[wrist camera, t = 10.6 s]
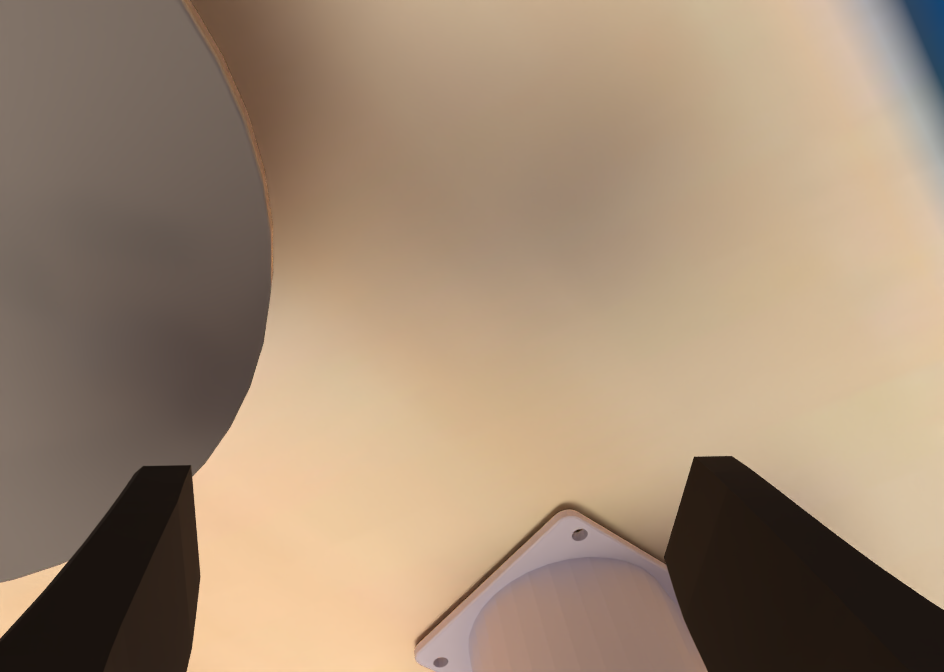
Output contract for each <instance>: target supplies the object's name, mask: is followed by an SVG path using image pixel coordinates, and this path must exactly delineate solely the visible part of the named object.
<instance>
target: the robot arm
mask: <svg viewBox="0 0 944 672" xmlns="http://www.w3.org/2000/svg"><path fill="white" fill-rule="evenodd" d="M578 529H582V530H581V531H579V532H575V533H574V531H576V530H578ZM664 559H665V562H666V564H664V563H663V562H661V561H659V560H658V559H656V558H654V557H653V556H651V555H649V554H648V553H646V552H644V551H643V550H641V549H639V548H638V547H636V546H634V545H633V544H631V543H629V542H628V541H626V540H624V539H622V538H621V537H619V536H617V535H616V534H614V533H612V532H611V531H609V530H607V529H606V528H604V527H602V526H601V525H599V524H597V523H596V522H594V521H592V520H591V519H589V518H587V517H586V516H584V515H582V514H581V513H579V512H577V511H575V510H572V509H570V510H563V511H560V512H559V513H557V514H556V515H555V516H553V517H552V518H551V519H550V520H549V521H548V522H547V523H546V524H545V525H544V526H543V527H542V528H541V529H540V530H539V531H537V532H536V533H535V534H534V535H533V536H532V537H531V538H530V539H529V540H528V541H527V542H526V543H525V544H524V545H523V546H522V547H520V548H519V549H518V550H517V551H516V552H515V553H514V554H513V555H512V556H511V557H510V558H509V559H508V560H507V561H506V562H504V563H503V564H502V565H501V566H500V567H499V568H498V569H497V570H496V571H495V572H494V573H493V574H492V575H491V576H490V577H489V578H487V579H486V580H485V581H484V582H483V583H482V584H481V585H480V586H479V587H478V588H477V589H476V590H475V591H474V592H473V593H471V594H470V595H469V596H468V597H467V598H466V599H465V600H464V601H463V602H462V603H461V604H460V605H459V606H458V607H457V608H456V609H454V610H453V611H452V612H451V613H450V614H449V615H448V616H447V617H446V618H445V619H444V620H443V621H442V622H441V623H440V624H438V625H437V626H436V627H435V628H434V629H433V630H432V631H431V632H430V633H429V634H428V635H427V636H426V637H425V638H424V639H423V640H421V641H420V642H419V643H418V644H417V646H416V647H415V650H414V653H415V660H416V662H417V663H418V664H420V665H422V666H424V667H427V668H429V669H431V670H434V671H436V672H944V610H943V609H941V608H939V607H938V606H936V605H935V604H933V603H932V602H930V601H929V600H927V599H926V598H924V597H923V596H921V595H920V594H918V593H917V592H916V591H914V590H913V589H911V588H910V587H908V586H907V585H905V584H904V583H902V582H901V581H899V580H898V579H897V578H895V577H894V576H892V575H891V574H889V573H888V572H886V571H885V570H884V569H882V568H881V567H879V566H878V565H877V564H875V563H874V562H872V561H871V560H870V559H868V558H867V557H866V556H864V555H863V554H861V553H860V552H859V551H857V550H856V549H855V548H853V547H852V546H851V545H849V544H848V543H847V542H845V541H844V540H843V539H841V538H840V537H839V536H837V535H836V534H835V533H833V532H832V531H831V530H829V529H828V528H827V527H825V526H824V525H823V524H821V523H820V522H819V521H818V520H816V519H815V518H814V517H812V516H811V515H810V514H808V513H807V512H806V511H805V510H803V509H802V508H801V507H799V506H798V505H797V504H796V503H794V502H793V501H792V500H790V499H789V498H788V497H787V496H785V495H784V494H783V493H781V492H780V491H779V490H777V489H776V488H775V487H774V486H772V485H771V484H770V483H768V482H767V481H766V480H764V479H763V478H762V477H760V476H759V475H758V474H756V473H755V472H754V471H752V470H751V469H750V468H748V467H747V466H745V465H744V464H743V463H741V462H740V461H738V460H737V459H735V458H734V457H732V456H712V457H694V459H693V462H692V465H691V469H690V472H689V475H688V479H687V482H686V486H685V489H684V492H683V496H682V499H681V502H680V506H679V509H678V512H677V516H676V519H675V522H674V526H673V529H672V532H671V536H670V539H669V542H668V546H667V549H666V552H665V556H664ZM199 584H200V566H199V554H198V542H197V530H196V518H195V506H194V494H193V482H192V469H191V465H168V466H142V467H141V468H140V469H139V470H138V471H137V472H135V473H134V475H133V476H132V478H131V479H130V481H129V482H128V484H127V485H126V487H125V488H124V489H123V491H122V492H121V494H120V495H119V496H118V498H117V499H116V501H115V502H114V503H113V505H112V506H111V507H110V509H109V510H108V512H107V513H106V514H105V516H104V517H103V518H102V520H101V521H100V522H99V523H98V525H97V526H96V527H95V529H94V530H93V531H92V533H91V534H90V535H89V536H88V538H87V539H86V540H85V542H84V543H83V544H82V545H81V546H80V548H79V549H78V550H77V551H76V553H75V554H74V555H73V556H72V557H71V559H70V560H69V561H68V562H67V564H66V565H65V566H64V567H63V568H62V570H61V571H60V572H59V573H58V575H57V576H56V577H55V578H54V579H53V581H52V582H51V583H50V584H49V585H48V586H47V588H46V589H45V590H44V591H43V592H42V593H41V595H40V596H39V597H38V598H37V599H36V600H35V601H34V602H33V603H32V604H31V606H30V607H29V608H28V609H27V610H26V611H25V612H24V613H23V614H22V615H21V617H20V618H19V619H18V620H17V621H16V622H15V623H14V624H13V625H12V626H11V627H10V629H9V630H8V631H7V632H6V633H5V634H4V635H3V636H2V637H1V638H0V672H186V671H187V667H188V663H189V658H190V654H191V649H192V643H193V635H194V627H195V619H196V610H197V602H198V593H199ZM440 657H441V658H440Z"/></svg>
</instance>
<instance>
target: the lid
mask: <svg viewBox="0 0 944 672" xmlns="http://www.w3.org/2000/svg"><path fill="white" fill-rule="evenodd" d="M272 277H273V222H272V215H271V208H270V202H269V195H268V189H267V182H266V175H265V169H264V166H263V162H262V159H261V155H260V152H259V149H258V145H257V142H256V138H255V135H254V132H253V128H252V125H251V121H250V118H249V114H248V112H247V110H246V107H245V105H244V103H243V100H242V98H241V96H240V94H239V91H238V89H237V87H236V84H235V82H234V80H233V78H232V75H231V73H230V71H229V68H228V66H227V64H226V61H225V59H224V57H223V55H222V53H221V51H220V50H219V48H218V46H217V44H216V43H215V41H214V39H213V38H212V36H211V34H210V33H209V31H208V29H207V27H206V26H205V24H204V22H203V21H202V19H201V17H200V16H199V14H198V12H197V10H196V9H195V7H194V5H193V4H192V2H191V0H0V583H1V582H5V581H10V580H14V579H17V578H20V577H24V576H27V575H30V574H33V573H36V572H39V571H42V570H45V569H48V568H51V567H54V566H57V565H60V564H62V563H65V562H67V561H69V560H70V559H71V557H72V556H73V555H74V554H75V553H76V551H77V550H78V549H79V548H80V546H81V545H82V544H83V543H84V542H85V540H86V539H87V538H88V536H89V535H90V534H91V533H92V531H93V530H94V529H95V527H96V526H97V525H98V523H99V522H100V521H101V520H102V518H103V517H104V516H105V514H106V513H107V512H108V510H109V509H110V507H111V506H112V505H113V503H114V502H115V501H116V499H117V498H118V496H119V495H120V494H121V492H122V491H123V489H124V488H125V487H126V485H127V484H128V482H129V481H130V479H131V478H132V476H133V475H134V473H135V472H137V471H138V470H139V469H140V468H141V467H142V466H168V465H191V469H192V476H193V475H194V474H195V473H196V472H197V471H198V470H199V469H200V468H201V467H202V466H203V465H204V464H205V463H206V461H207V460H208V458H209V457H210V456H211V454H212V453H213V451H214V450H215V448H216V447H217V446H218V444H219V443H220V441H221V440H222V438H223V437H224V436H225V434H226V433H227V431H228V430H229V428H230V427H231V425H232V423H233V421H234V419H235V417H236V415H237V413H238V410H239V408H240V406H241V404H242V402H243V400H244V398H245V396H246V394H247V392H248V390H249V388H250V385H251V382H252V379H253V375H254V372H255V369H256V366H257V362H258V359H259V356H260V353H261V350H262V346H263V342H264V335H265V329H266V322H267V315H268V308H269V301H270V293H271V285H272Z"/></svg>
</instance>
